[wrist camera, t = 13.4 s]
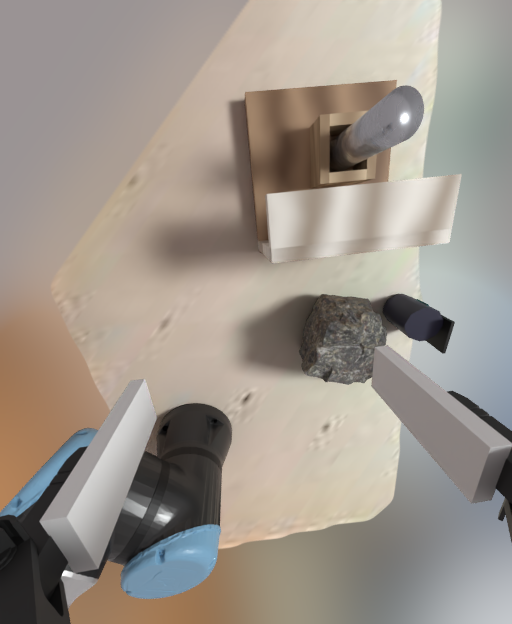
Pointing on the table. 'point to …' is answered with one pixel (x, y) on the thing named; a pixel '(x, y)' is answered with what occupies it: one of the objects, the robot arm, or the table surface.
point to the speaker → (419, 320)
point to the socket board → (334, 180)
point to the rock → (341, 339)
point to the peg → (378, 128)
